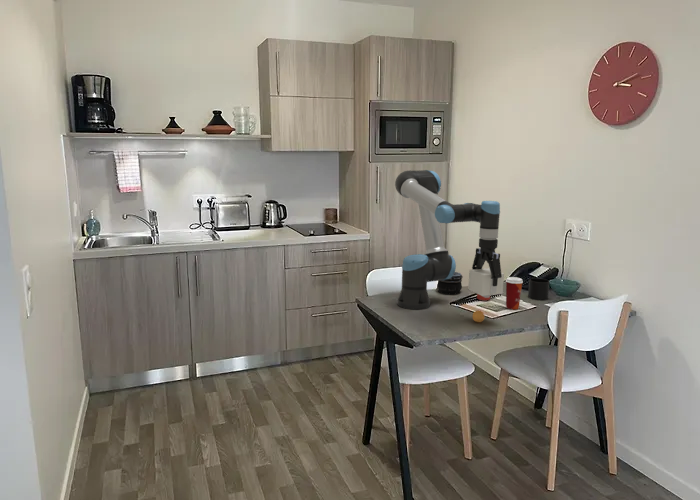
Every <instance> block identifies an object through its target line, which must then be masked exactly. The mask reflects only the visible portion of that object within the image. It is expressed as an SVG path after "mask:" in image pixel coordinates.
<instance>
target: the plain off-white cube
mask: <svg viewBox="0 0 700 500" xmlns="http://www.w3.org/2000/svg"><path fill="white" fill-rule="evenodd" d="M468 271H469V272H468V286H467V287H468V288H467V290H468V291H470V292H472V293H475V294H476V295H477V294H479V295H481V296H486V295H490V296H496V295H503V294H504V280H505V273H504V272H502V271H501V275H502V277H501V278H498V282H497V289H496V293H494V294H490V281H491V277H492V275H491V271H490V267H488V268H487V267H486V268H482V269H472V268H471V269H468ZM498 275H499V274H498Z"/></svg>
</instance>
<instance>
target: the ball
mask: <svg viewBox="0 0 700 500" xmlns="http://www.w3.org/2000/svg"><path fill="white" fill-rule="evenodd" d="M472 319H473V321H474V322H475V323H482V322H483V321H484V320H485V313H484V312H483V311H482V310H474V312H473V313H472Z"/></svg>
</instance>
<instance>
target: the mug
mask: <svg viewBox="0 0 700 500" xmlns="http://www.w3.org/2000/svg"><path fill="white" fill-rule="evenodd" d="M549 289H550V280H549V279H546V278H540V277H539V278H538V277H532V278H529V280H528V293H527V297H528V298H529V299H530V300H534V301H546V300H547V301H548V300H549Z"/></svg>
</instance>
